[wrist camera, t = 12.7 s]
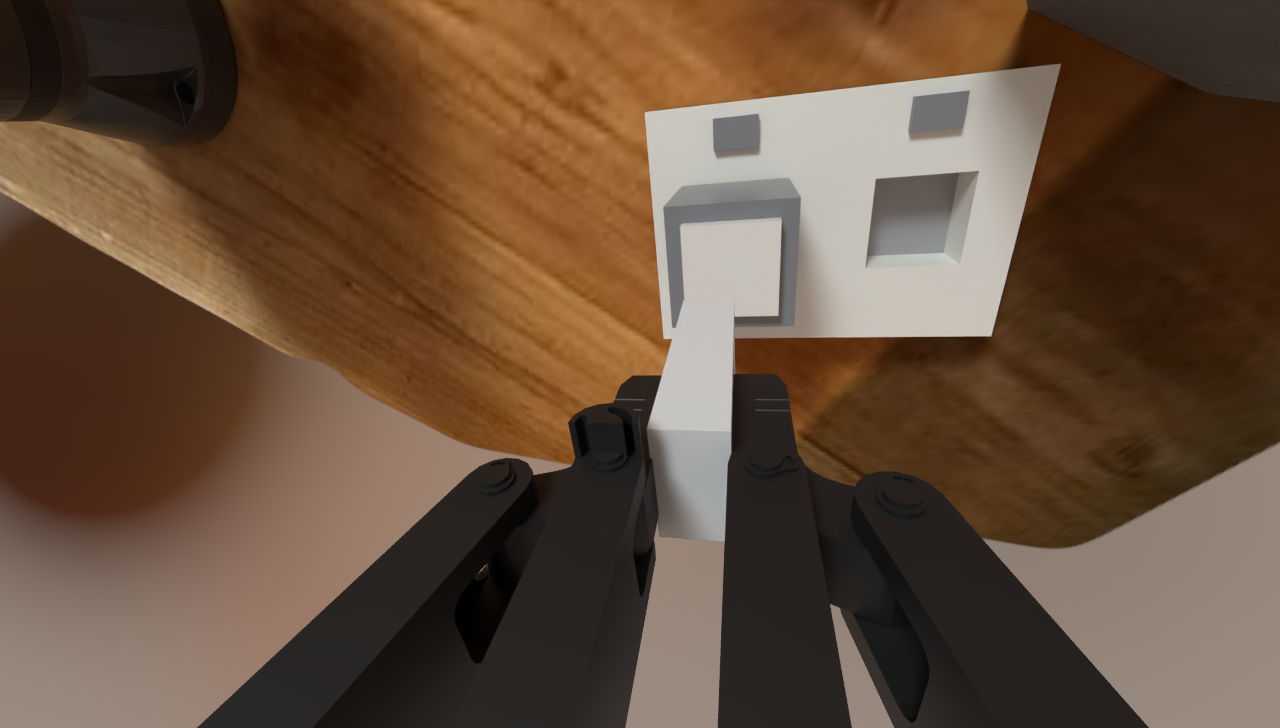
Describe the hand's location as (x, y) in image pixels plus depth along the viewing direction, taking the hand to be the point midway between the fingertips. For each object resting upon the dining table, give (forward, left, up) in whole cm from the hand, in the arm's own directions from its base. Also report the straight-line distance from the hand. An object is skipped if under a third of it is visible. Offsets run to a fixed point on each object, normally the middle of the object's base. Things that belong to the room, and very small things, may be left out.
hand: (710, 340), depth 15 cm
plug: (0, 0, -19) cm, 19 cm away
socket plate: (+5, 0, -19) cm, 20 cm away
